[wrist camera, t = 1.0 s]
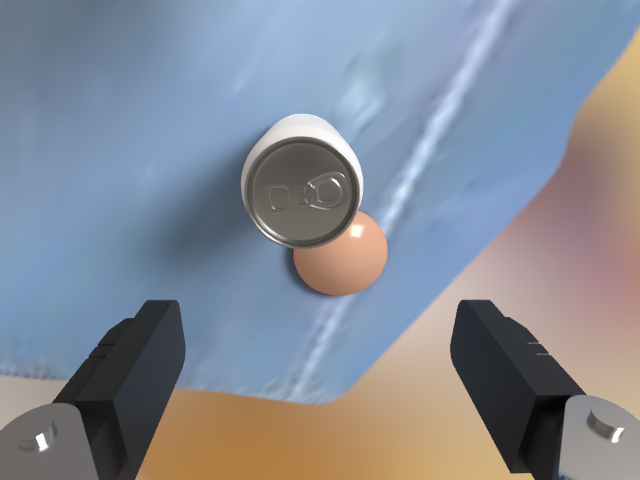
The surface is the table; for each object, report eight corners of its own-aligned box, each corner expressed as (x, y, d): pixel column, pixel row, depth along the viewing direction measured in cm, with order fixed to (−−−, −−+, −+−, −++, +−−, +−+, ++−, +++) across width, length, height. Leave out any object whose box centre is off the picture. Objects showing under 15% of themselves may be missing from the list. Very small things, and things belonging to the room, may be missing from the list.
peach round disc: (293, 205, 30) (293, 208, 30) (389, 207, 31) (392, 209, 30) (293, 290, 33) (293, 295, 33) (381, 291, 34) (382, 295, 33)
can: (347, 191, 30) (373, 248, 19) (268, 201, 30) (248, 264, 19) (339, 107, 28) (364, 117, 17) (254, 118, 28) (221, 136, 17)
